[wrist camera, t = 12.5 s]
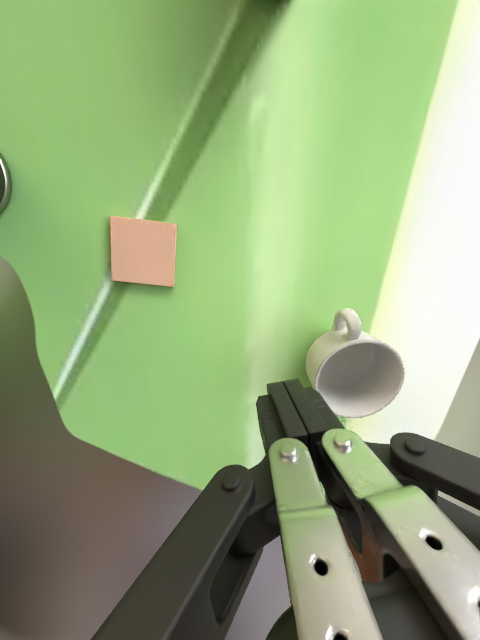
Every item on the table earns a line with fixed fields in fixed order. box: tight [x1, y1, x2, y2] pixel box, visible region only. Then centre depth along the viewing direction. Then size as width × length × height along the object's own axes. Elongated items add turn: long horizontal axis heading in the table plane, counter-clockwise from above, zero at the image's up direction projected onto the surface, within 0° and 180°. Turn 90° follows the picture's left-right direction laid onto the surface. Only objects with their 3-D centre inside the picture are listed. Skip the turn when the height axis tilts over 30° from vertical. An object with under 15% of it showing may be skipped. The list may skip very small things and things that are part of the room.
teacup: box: [306, 308, 405, 418], centre depth 33 cm, size 14×11×8 cm
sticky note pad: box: [110, 216, 177, 287], centre depth 31 cm, size 8×8×1 cm
